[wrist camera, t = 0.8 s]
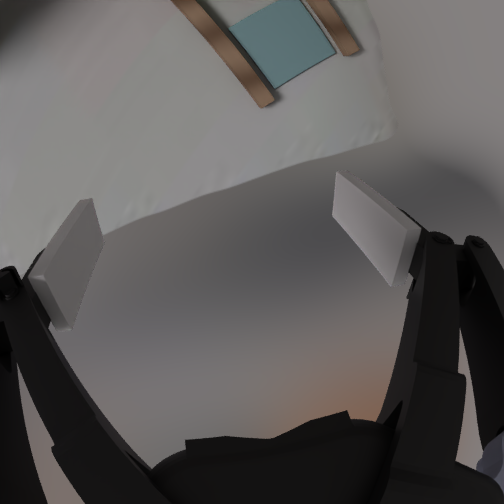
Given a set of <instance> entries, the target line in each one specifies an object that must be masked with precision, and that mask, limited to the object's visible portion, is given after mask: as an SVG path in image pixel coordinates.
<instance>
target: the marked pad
mask: <svg viewBox="0 0 504 504" xmlns="http://www.w3.org/2000/svg"><path fill="white" fill-rule="evenodd" d="M228 29H229V31H230V32H231V33H232V34H233V36H234V37H235V38H236V39H237V40H238V42H239V43H240V44H241V45H242V47H243V48H244V49H245V50H246V52H247V53H248V54H249V56H250V57H251V58H252V59H253V61H254V62H255V63H256V65H257V66H258V67H259V69H260V70H261V71H262V73H263V74H264V75H265V77H266V78H267V80H268V81H269V82H270V84H271V85H272V86H273V88H274V89H275V88H277V87H278V86H280V85H282V84H283V83H285V82H286V81H288V80H290V79H291V78H293V77H295V76H296V75H298V74H299V73H301V72H303V71H305V70H306V69H308V68H310V67H311V66H313V65H315V64H317V63H318V62H320V61H322V60H324V59H325V58H327V57H329V56H331V55H333V54H334V53H335V51H334V49H333V48H332V46H331V45H330V43H329V42H328V40H327V38H326V37H325V35H324V34H323V32H322V31H321V30H320V28H319V27H318V25H317V24H316V22H315V21H314V19H313V18H312V17H311V15H310V14H309V12H308V11H307V10H306V8H305V7H304V6H303V4H302V3H301V2H300V0H279V1H277V2H275V3H273V4H271V5H269V6H267V7H265V8H263V9H261V10H259V11H257V12H256V13H254V14H252V15H250V16H248V17H247V18H245V19H243V20H241V21H240V22H238V23H236V24H235V25H233V26H231V27H230V28H228Z"/></svg>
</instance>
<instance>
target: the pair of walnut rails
mask: <svg viewBox="0 0 504 504" xmlns="http://www.w3.org/2000/svg"><path fill="white" fill-rule="evenodd" d="M171 1H172V2H173V3H174V4H175V6H176V7H177V8H178V9H179V10H180V11H181V12H182V13H183V14H184V15H185V16H186V18H187V19H188V20H189V21H190V22H191V23H192V24H193V25H194V27H195V28H196V29H197V30H198V31H199V32H200V33H201V35H202V36H203V37H204V38H205V39H206V40H207V42H208V43H209V44H210V45H211V46H212V48H213V49H214V50H215V51H216V52H217V54H218V55H219V56H220V57H221V58H222V60H223V61H224V62H225V63H226V65H227V66H228V67H229V68H230V70H231V71H232V72H233V73H234V75H235V76H236V77H237V78H238V80H239V81H240V82H241V84H242V85H243V86H244V88H245V89H246V90H247V91H248V93H249V94H250V95H251V97H252V98H253V99H254V101H255V102H256V103H257V105H258V106H259V107H260V108H263V107H265V106H266V105H268V104H269V103H271V102H272V101H274V100H275V99H274V98H273V96H272V95H271V93H270V92H269V91H268V89H267V88H266V87H265V85H264V84H263V82H262V81H261V80H260V78H259V77H258V76H257V74H256V73H255V72H254V70H253V69H252V68H251V66H250V65H249V64H248V63H247V61H246V60H245V59H244V57H243V56H242V55H241V54H240V52H239V51H238V50H237V49H236V47H235V46H234V45H233V44H232V42H231V41H230V40H229V39H228V37H227V36H226V35H225V34H224V33H223V31H222V30H221V29H220V28H219V27H218V26H217V24H216V23H215V22H214V21H213V20H212V19H211V17H210V16H209V15H208V14H207V13H206V12H205V11H204V10H203V8H202V7H201V6H200V5H199V4H198V3H197V2H196V1H195V0H171ZM306 1H307V2H308V4H309V5H310V6H311V8H312V9H313V10H314V12H315V13H316V15H317V16H318V17H319V19H320V20H321V22H322V23H323V25H324V26H325V28H326V29H327V31H328V32H329V34H330V35H331V37H332V38H333V40H334V41H335V43H336V44H337V46H338V48H339V49H340V51H341V52H342V54H343V56H349V55H351V54H353V53H355V52H357V51H359V48H358V46H357V44H356V43H355V41H354V39H353V38H352V36H351V35H350V33H349V31H348V30H347V28H346V27H345V25H344V23H343V22H342V20H341V19H340V17H339V16H338V14H337V13H336V11H335V10H334V9H333V7H332V6H331V4H330V3H329V1H328V0H306Z"/></svg>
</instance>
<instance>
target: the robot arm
mask: <svg viewBox="0 0 504 504" xmlns="http://www.w3.org/2000/svg"><path fill="white" fill-rule="evenodd" d="M332 216H333V217H334V218H335V220H336V221H337V222H338V223H339V224H340V225H341V226H342V228H343V229H344V230H345V231H346V232H347V233H348V235H349V236H350V237H351V238H352V239H353V240H354V242H355V243H356V244H357V245H358V246H359V248H360V249H361V250H362V251H363V253H364V254H365V255H366V256H367V257H368V259H369V260H370V261H371V262H372V264H373V265H374V266H375V267H376V269H377V270H378V271H379V272H380V274H381V275H382V276H383V277H384V279H385V280H386V281H387V283H388V284H389V285H390V286H391V287H394V286H399V285H403V284H405V282H406V279H407V276H408V273H410V274H411V275H412V276H413V281H412V284H411V287H410V289H409V292H408V295H407V299H409V301H408V307H407V312H406V318H405V322H404V327H403V332H402V337H401V341H400V346H399V349H398V354H397V358H396V362H395V365H394V369H393V373H392V377H391V380H390V384H389V387H388V390H387V394H386V397H385V400H384V403H383V407H382V410H381V412H380V414H379V416H378V418H377V420H376V422H374V421H369V420H363V419H350V417H349V414H348V412H347V410H346V411H343V412H340V413H336V414H333V415H329V416H325V417H322V418H318V419H314V420H310V421H308V422H306V423H304V424H302V425H300V426H298V427H296V428H294V429H292V430H290V431H288V432H286V433H283V434H281V435H279V436H277V437H275V438H271V439H258V438H242V437H230V436H222V437H213V438H203V439H192V440H185V445H186V450H183V451H180V452H177V453H175V454H173V455H171V456H169V457H167V458H165V459H164V460H162V461H161V462H160V463H158V464H157V465H156V466H155V467H154V468H153V469H151V468H150V467H149V466H148V465H147V464H146V463H145V462H144V461H143V460H142V459H141V458H140V457H139V456H138V455H137V454H136V453H135V452H134V451H133V450H132V449H131V447H130V446H129V445H128V444H127V443H126V442H125V440H124V439H123V438H122V437H121V436H120V435H119V433H118V432H117V431H116V430H115V428H114V427H113V426H112V425H111V423H110V422H109V421H108V420H107V418H106V417H105V416H104V414H103V413H102V412H101V410H100V409H99V408H98V406H97V405H96V404H95V402H94V401H93V399H92V398H91V397H90V395H89V394H88V392H87V391H86V389H85V388H84V386H83V385H82V383H81V382H80V380H79V379H78V377H77V376H76V374H75V373H74V371H73V370H72V368H71V366H70V365H69V363H68V361H67V360H66V358H65V356H64V355H63V353H62V351H61V350H60V348H59V346H58V345H57V343H56V341H55V339H54V337H53V336H52V334H51V332H50V331H49V329H48V327H49V324H50V322H52V324H53V325H54V327H55V329H56V330H57V331H71V330H72V329H73V326H74V323H75V320H76V316H77V314H78V311H79V308H80V305H81V302H82V299H83V296H84V293H85V291H86V288H87V285H88V283H89V280H90V277H91V275H92V272H93V270H94V267H95V265H96V262H97V260H98V258H99V255H100V253H101V250H102V248H103V246H104V243H105V242H104V239H103V236H102V232H101V229H100V225H99V222H98V218H97V215H96V211H95V207H94V203H93V199H92V198H90V199H85V200H80V201H79V202H78V203H77V205H76V206H75V207H74V209H73V210H72V211H71V213H70V214H69V215H68V217H67V218H66V219H65V221H64V222H63V224H62V225H61V226H60V228H59V229H58V231H57V232H56V234H55V235H54V236H53V238H52V239H51V241H50V242H49V244H48V245H47V247H46V248H45V249H43V250H42V251H41V252H40V253H39V254H38V255H37V256H36V258H35V259H34V261H33V263H32V264H31V266H30V267H29V269H28V270H27V272H26V274H25V275H24V277H23V279H22V280H21V278H20V276H19V274H18V272H17V270H16V268H15V267H14V266H8V267H5V268H3V269H1V270H0V504H48V503H47V500H46V497H45V494H44V492H43V489H42V486H41V483H40V480H39V477H38V473H37V470H36V467H35V463H34V460H33V456H32V453H31V448H30V444H29V440H28V436H27V431H26V427H25V421H24V415H23V409H22V404H21V396H20V389H19V380H18V370H17V364H18V366H19V369H20V372H21V374H22V376H23V379H24V381H25V384H26V386H27V388H28V391H29V393H30V396H31V398H32V400H33V402H34V405H35V407H36V409H37V411H38V413H39V415H40V417H41V419H42V421H43V423H44V425H45V427H46V429H47V431H48V432H49V434H50V436H51V438H52V440H53V442H54V446H52V447H51V449H52V453H53V455H54V457H55V459H56V461H57V462H58V464H59V466H60V467H61V469H62V471H63V472H64V474H65V475H66V477H67V478H68V480H69V481H70V483H71V484H72V485H73V487H74V489H75V490H76V492H77V493H78V495H79V496H80V497H81V499H82V500H83V501H84V503H85V504H504V269H503V268H502V266H501V264H500V262H499V261H498V259H497V257H496V256H495V254H494V252H493V251H492V249H491V247H490V246H489V245H488V244H487V242H486V241H484V240H483V239H482V238H480V237H478V236H471V235H469V236H467V237H466V239H465V242H464V245H457V244H454V242H453V240H452V239H451V238H450V237H449V236H447V235H445V234H443V233H440V232H428V231H427V230H426V229H425V228H424V227H423V226H421V225H420V224H419V223H418V222H417V221H415V220H414V219H413V218H412V217H410V215H408V214H407V213H406V212H405V211H403V210H401V209H399V208H397V207H395V206H394V205H393V204H392V203H390V202H389V201H388V200H387V199H385V198H384V197H383V196H381V195H380V194H379V193H378V192H376V191H375V190H374V189H372V188H371V187H370V186H368V185H367V184H366V183H364V182H363V181H362V180H360V179H359V178H357V177H356V176H355V175H354V174H352V173H351V172H349V171H336V181H335V194H334V203H333V213H332ZM459 330H461V334H462V338H463V342H464V346H465V350H466V355H467V359H468V364H469V369H470V375H471V380H472V386H473V392H474V398H475V406H476V414H477V423H478V430H479V436H480V440H481V445H482V449H483V455H482V458H481V459H480V460H479V461H478V463H477V467H476V470H474V469H472V468H470V467H468V466H465V465H463V464H461V463H459V462H457V461H455V460H456V455H457V450H458V445H459V439H460V434H461V427H462V421H463V413H464V404H465V394H466V377H465V375H464V374H460V373H458V362H459V333H460V331H459Z"/></svg>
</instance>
